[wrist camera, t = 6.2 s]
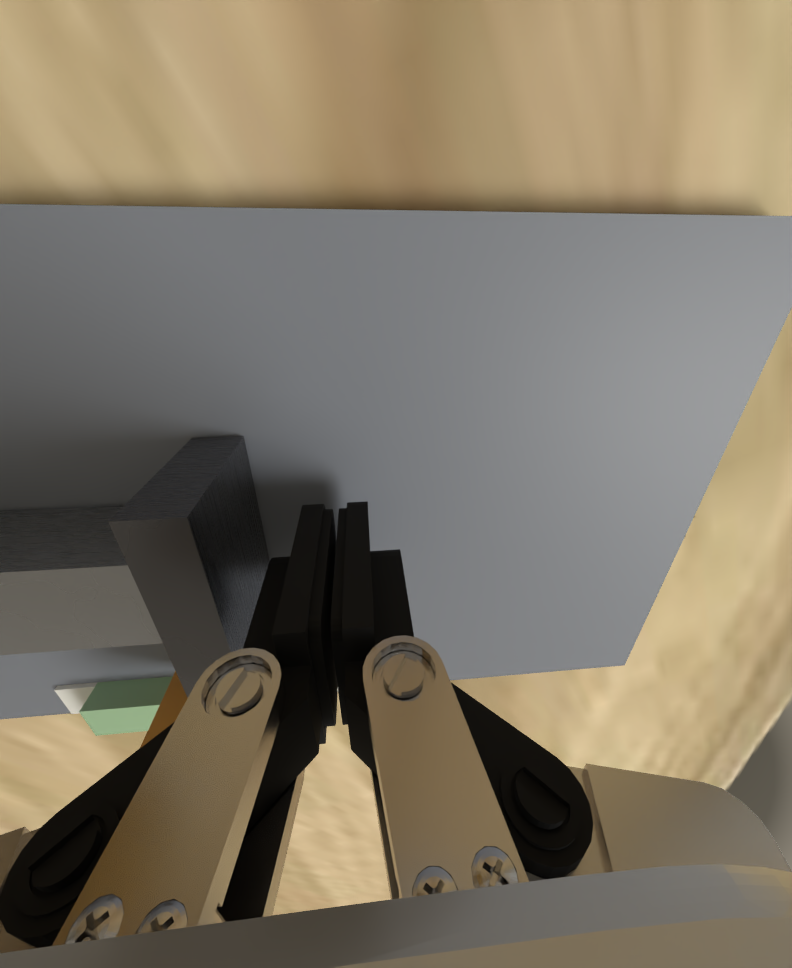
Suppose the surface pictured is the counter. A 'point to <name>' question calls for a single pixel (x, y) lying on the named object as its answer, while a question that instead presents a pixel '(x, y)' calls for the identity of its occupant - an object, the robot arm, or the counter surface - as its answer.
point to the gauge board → (392, 402)
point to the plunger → (142, 565)
